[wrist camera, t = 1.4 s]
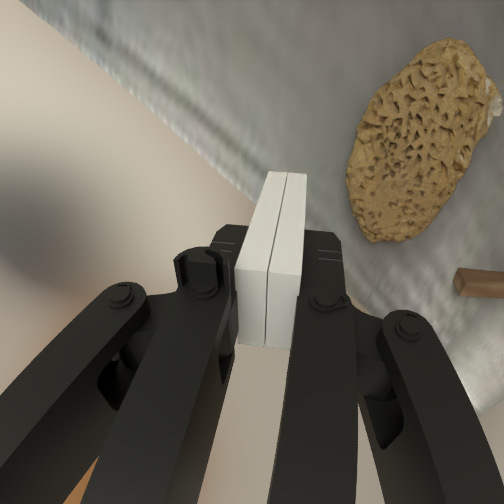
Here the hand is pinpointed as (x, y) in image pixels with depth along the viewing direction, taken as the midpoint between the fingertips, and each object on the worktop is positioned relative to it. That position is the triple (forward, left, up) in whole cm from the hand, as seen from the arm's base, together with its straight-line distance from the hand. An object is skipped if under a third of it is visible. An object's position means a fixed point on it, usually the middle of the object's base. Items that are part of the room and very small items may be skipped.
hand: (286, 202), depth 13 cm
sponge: (0, +11, -19) cm, 22 cm away
